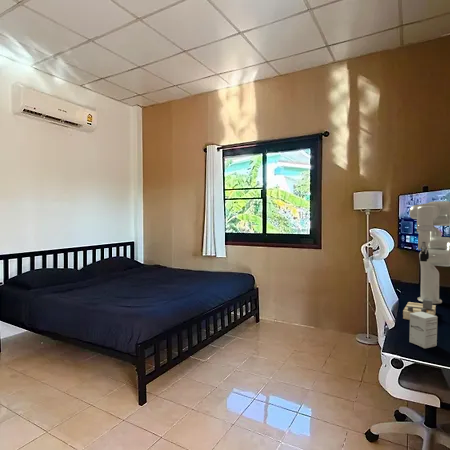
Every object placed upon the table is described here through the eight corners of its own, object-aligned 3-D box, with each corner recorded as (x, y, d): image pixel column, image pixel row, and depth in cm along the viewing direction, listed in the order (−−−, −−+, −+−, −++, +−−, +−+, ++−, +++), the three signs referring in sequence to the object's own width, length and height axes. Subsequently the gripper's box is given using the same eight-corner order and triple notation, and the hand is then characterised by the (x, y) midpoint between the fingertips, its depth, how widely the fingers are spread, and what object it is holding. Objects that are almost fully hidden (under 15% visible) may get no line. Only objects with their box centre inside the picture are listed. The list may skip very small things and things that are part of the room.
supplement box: (408, 342, 141) (409, 313, 140) (421, 339, 143) (421, 310, 143) (424, 349, 134) (425, 318, 133) (437, 346, 136) (438, 315, 136)
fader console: (408, 308, 186) (408, 298, 186) (435, 312, 179) (435, 301, 179) (403, 318, 170) (403, 307, 170) (432, 323, 163) (432, 311, 162)
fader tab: (423, 306, 175) (423, 298, 175) (432, 308, 172) (432, 299, 172) (422, 308, 172) (422, 300, 172) (431, 309, 170) (431, 301, 170)
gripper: (418, 227, 189) (418, 257, 190) (415, 229, 175) (414, 261, 176) (434, 228, 185) (433, 258, 186) (431, 230, 171) (431, 262, 172)
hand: (424, 260), depth 181 cm, fingers open, 9 cm apart
